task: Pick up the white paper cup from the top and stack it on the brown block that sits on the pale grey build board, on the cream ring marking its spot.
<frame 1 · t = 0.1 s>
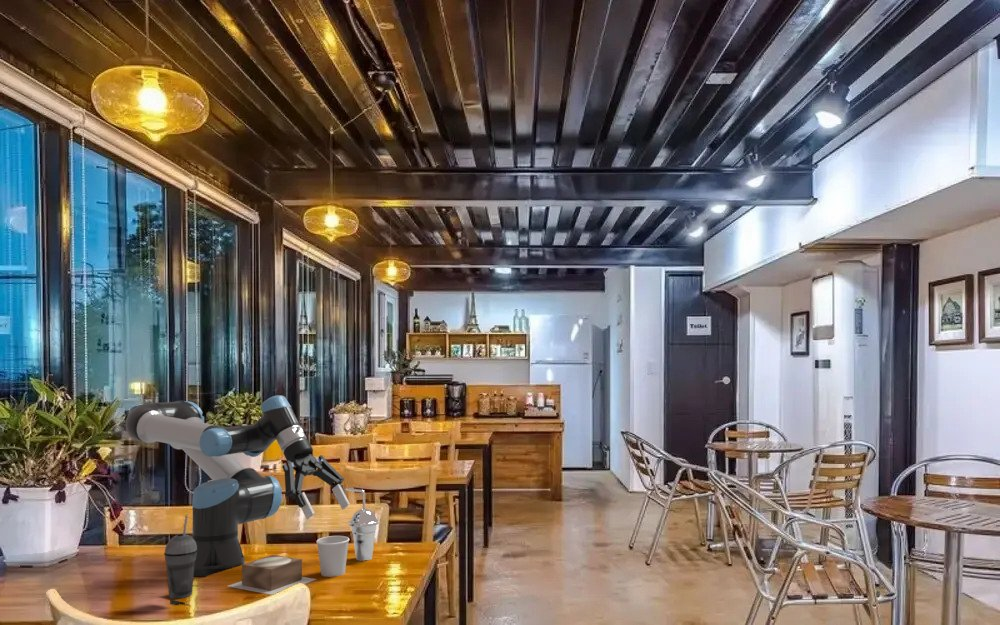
hand: (329, 511, 200), 15 cm above the table, tool tilted 35°, fingers open, 13 cm apart
build board: (272, 588, 183), on the table
cup with straw: (363, 559, 210), on the table
beverage cup: (180, 602, 174), on the table
dixie cup: (333, 579, 190), on the table
brown block: (272, 582, 183), point 1 cm above the table, touching build board
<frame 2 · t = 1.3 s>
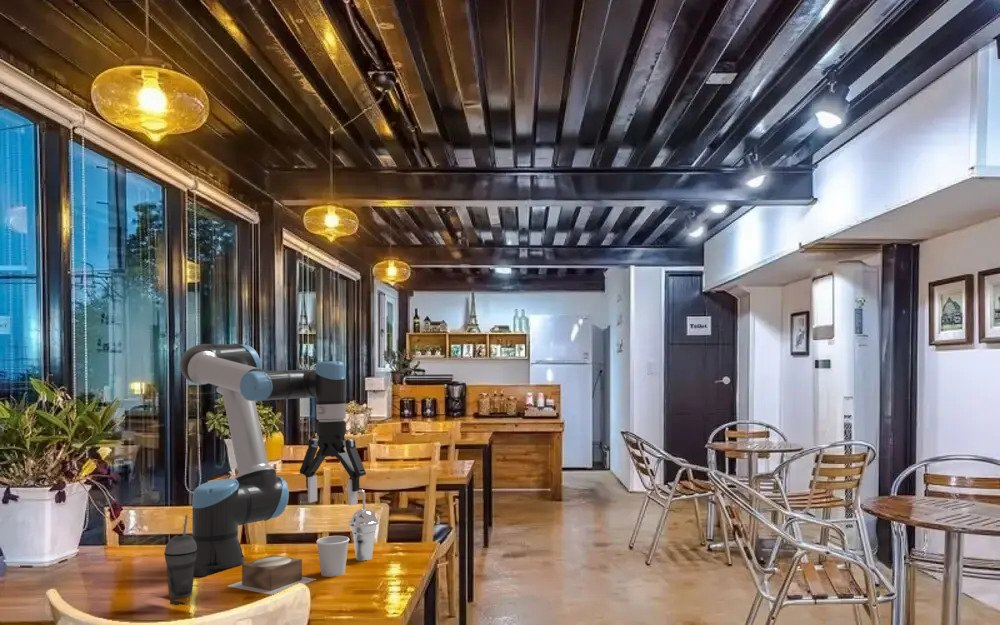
hand: (332, 503, 192), 19 cm above the table, tool pointing down, fingers open, 13 cm apart
nothing on the table moved.
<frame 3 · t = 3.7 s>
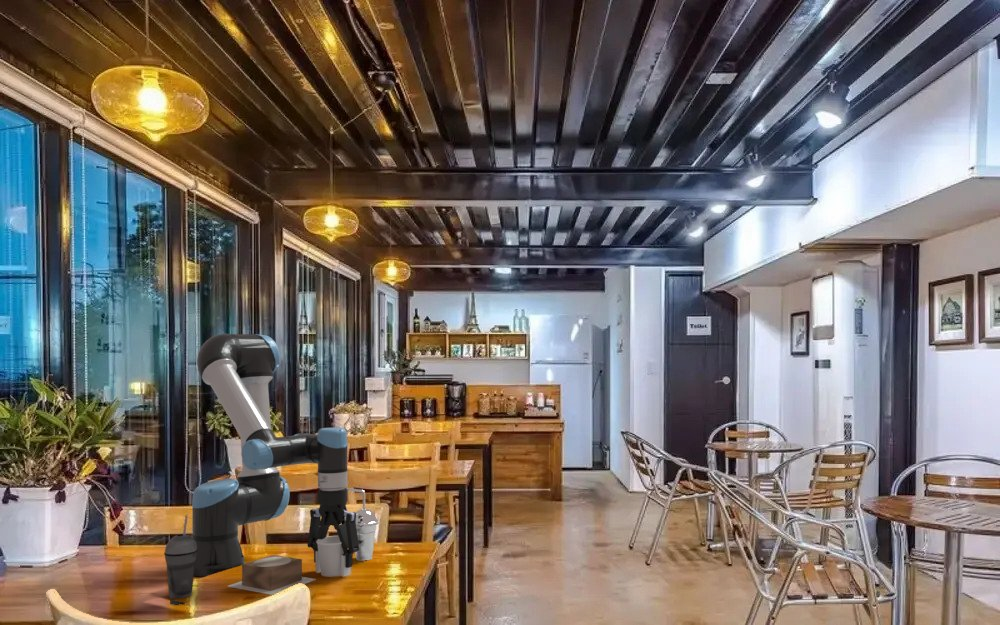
hand: (333, 577, 190), 0 cm above the table, tool pointing down, fingers closed on dixie cup, 8 cm apart
dixie cup: (333, 579, 190), on the table, touching gripper
everything else where it was.
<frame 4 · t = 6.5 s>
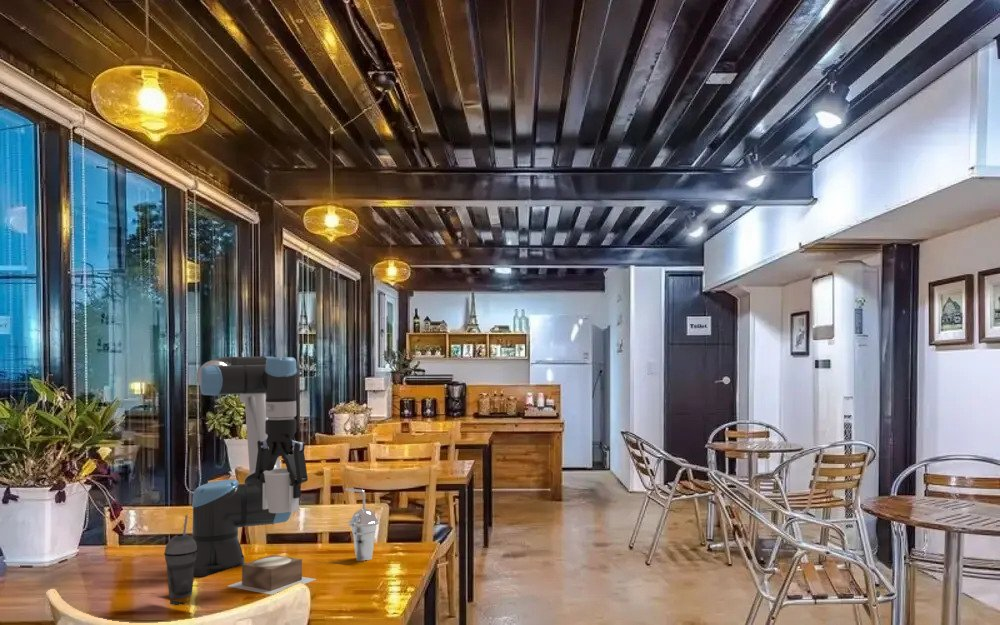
hand: (280, 509, 185), 19 cm above the table, tool pointing down, fingers closed on dixie cup, 8 cm apart
dixie cup: (280, 511, 185), point 18 cm above the table, touching gripper
everything else where it was.
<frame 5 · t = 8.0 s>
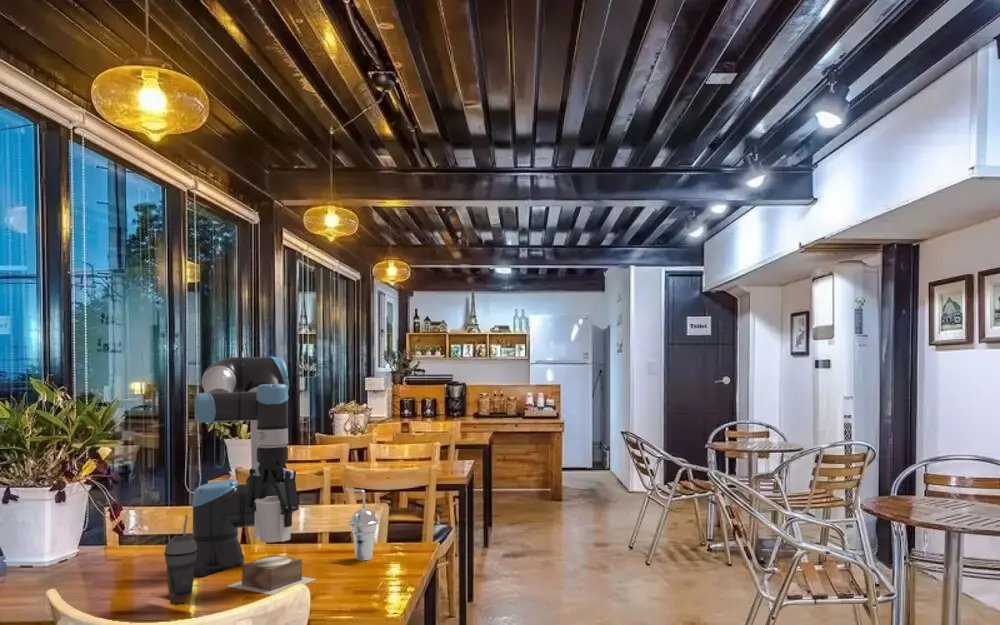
hand: (272, 538, 184), 12 cm above the table, tool pointing down, fingers closed on dixie cup, 8 cm apart
dixie cup: (272, 540, 183), point 12 cm above the table, touching gripper
everything else where it was.
when the fingers open (8 cm above the table, at t = 9.2 s): dixie cup drops 1 cm, resting on brown block.
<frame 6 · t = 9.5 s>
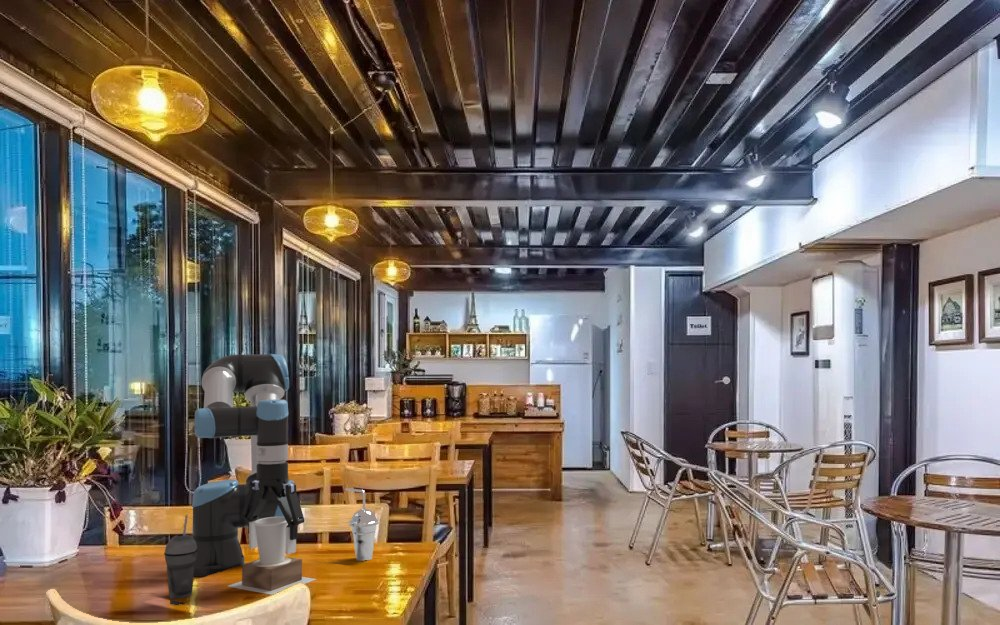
hand: (272, 550, 183), 9 cm above the table, tool pointing down, fingers open, 12 cm apart
dixie cup: (272, 562, 183), point 6 cm above the table, touching brown block
brown block: (272, 582, 183), point 1 cm above the table, touching build board, dixie cup
everything else where it was.
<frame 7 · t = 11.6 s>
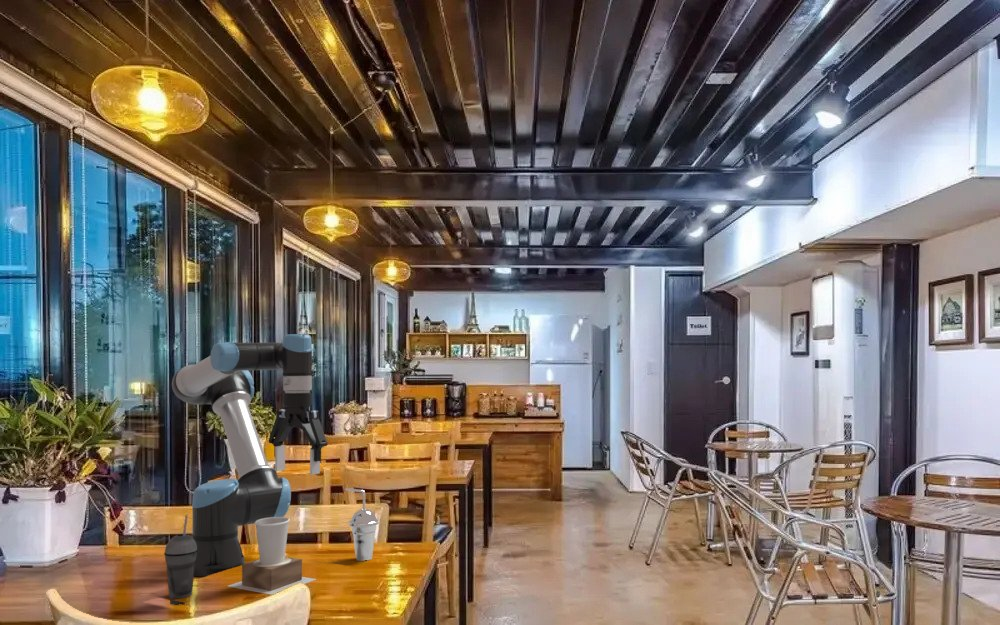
hand: (297, 472, 197), 27 cm above the table, tool pointing down, fingers open, 13 cm apart
nothing on the table moved.
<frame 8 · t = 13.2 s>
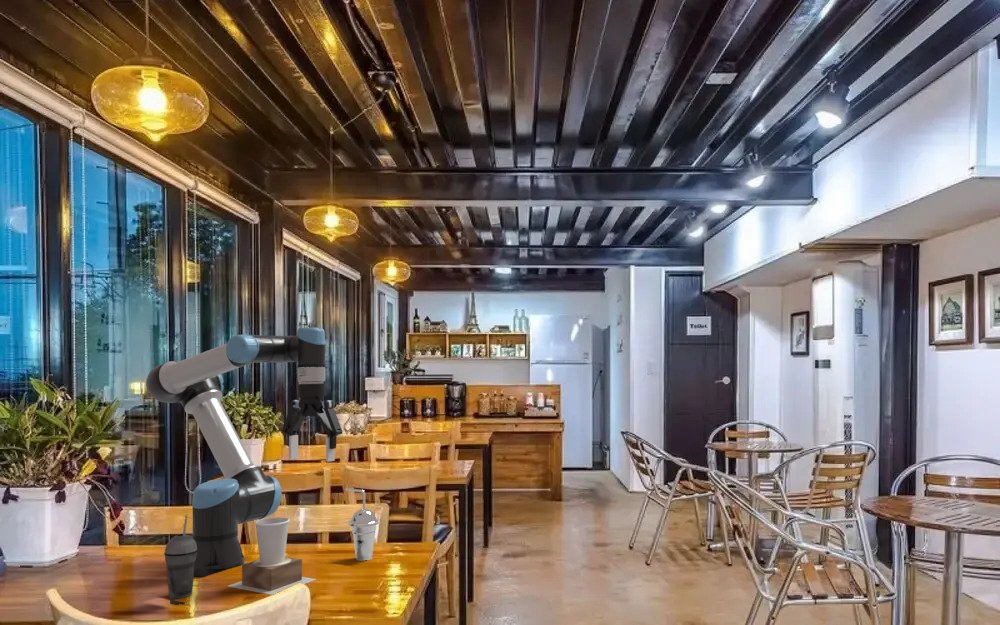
hand: (311, 460, 205), 29 cm above the table, tool pointing down, fingers open, 13 cm apart
nothing on the table moved.
at the end: dixie cup inside the target area on the brown block (0.0 cm from its centre), point 4.9 cm above the brown block's base; dixie cup tilted 0°; the gripper is holding nothing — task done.
